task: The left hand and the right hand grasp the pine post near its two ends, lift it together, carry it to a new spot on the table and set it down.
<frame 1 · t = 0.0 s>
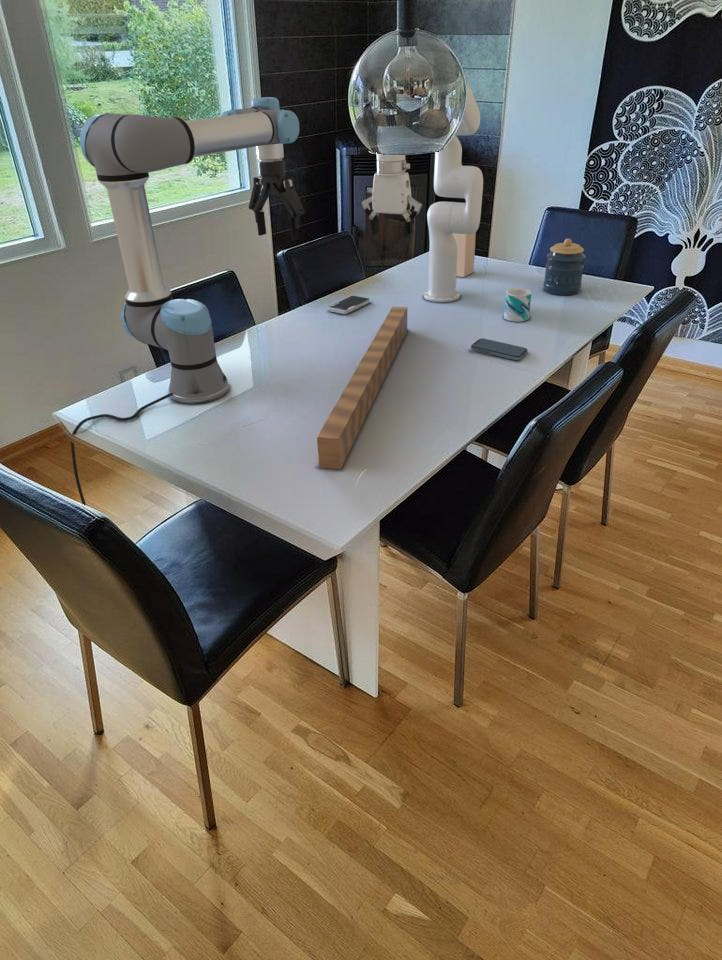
left hand: (278, 237, 202), 28 cm above the table, tool pointing down, fingers open, 13 cm apart
right hand: (391, 234, 186), 31 cm above the table, tool pointing down, fingers open, 9 cm apart
smartphone: (349, 307, 231), on the table
tan upright wooden block: (461, 272, 262), on the table
post: (371, 386, 177), on the table
mug: (518, 315, 218), on the table
smartphone 2: (498, 352, 193), on the table
canister: (561, 290, 239), on the table
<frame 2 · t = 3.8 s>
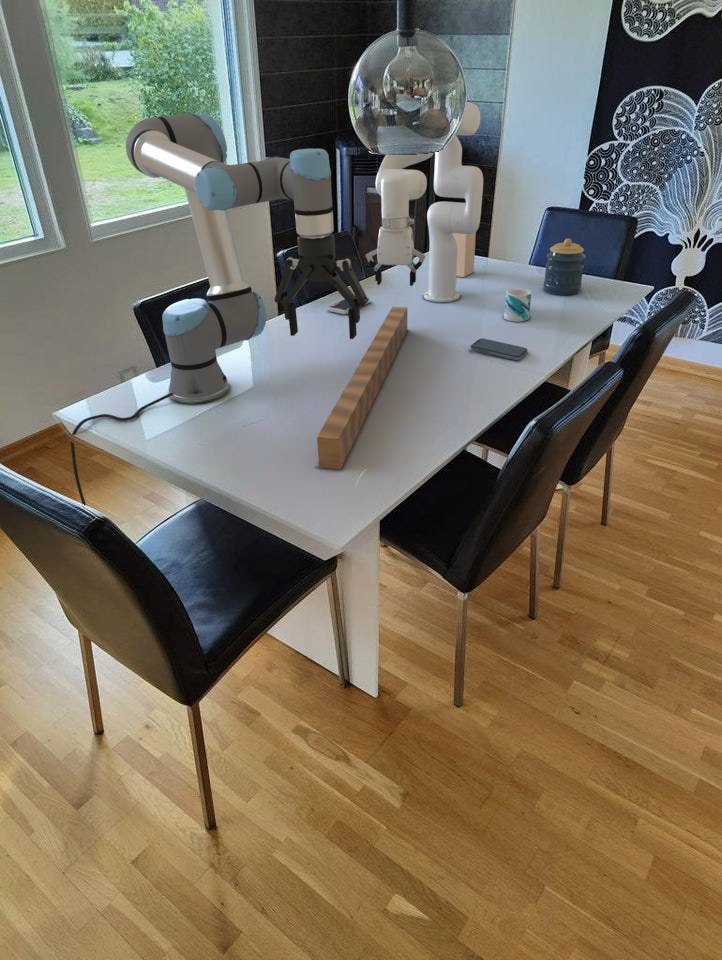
left hand: (323, 335, 147), 23 cm above the table, tool pointing down, fingers open, 13 cm apart
right hand: (395, 284, 196), 17 cm above the table, tool pointing down, fingers open, 9 cm apart
nothing on the table moved.
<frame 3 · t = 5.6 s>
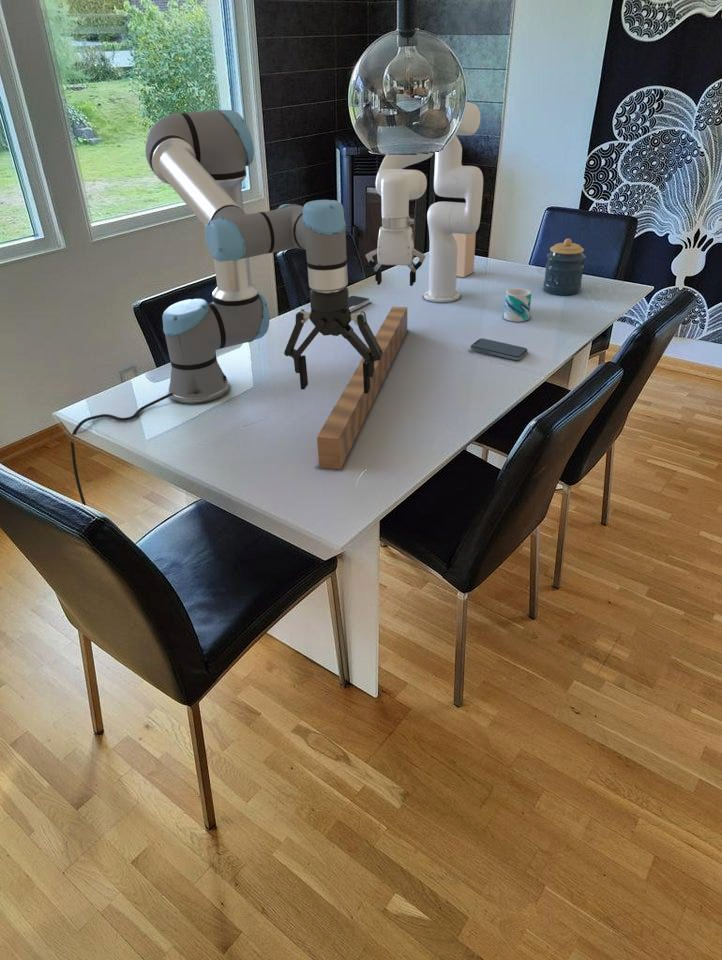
left hand: (335, 388, 140), 15 cm above the table, tool pointing down, fingers open, 13 cm apart
right hand: (395, 284, 196), 17 cm above the table, tool pointing down, fingers open, 9 cm apart
nothing on the table moved.
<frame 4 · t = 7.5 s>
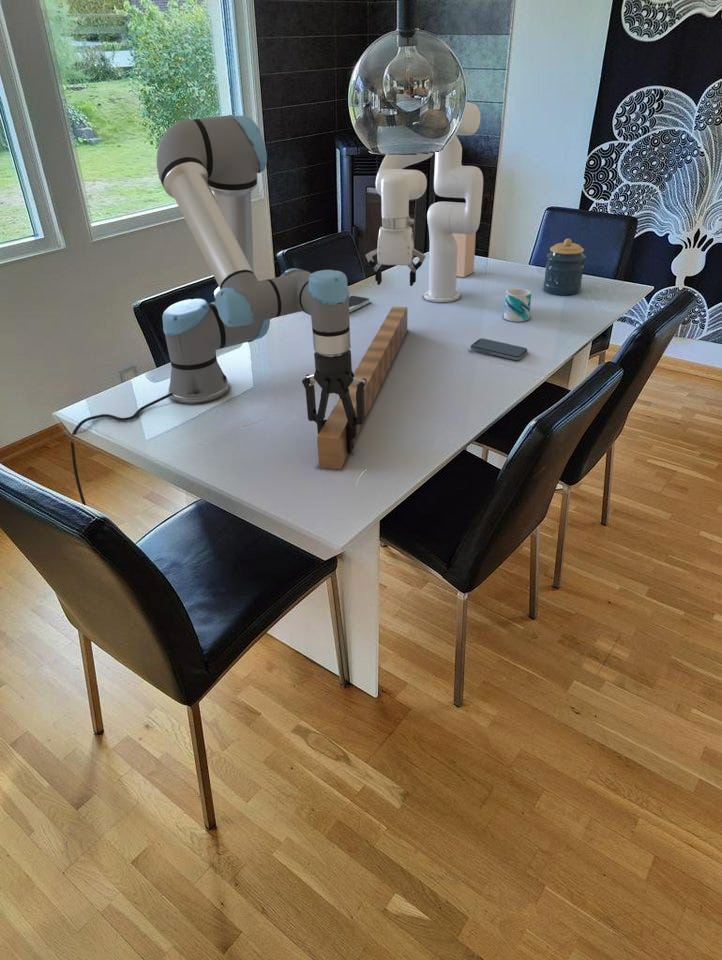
left hand: (338, 449, 149), 1 cm above the table, tool pointing down, fingers closed on post, 5 cm apart
right hand: (395, 284, 196), 17 cm above the table, tool pointing down, fingers open, 9 cm apart
post: (371, 386, 177), on the table, touching left hand
everything else where it was.
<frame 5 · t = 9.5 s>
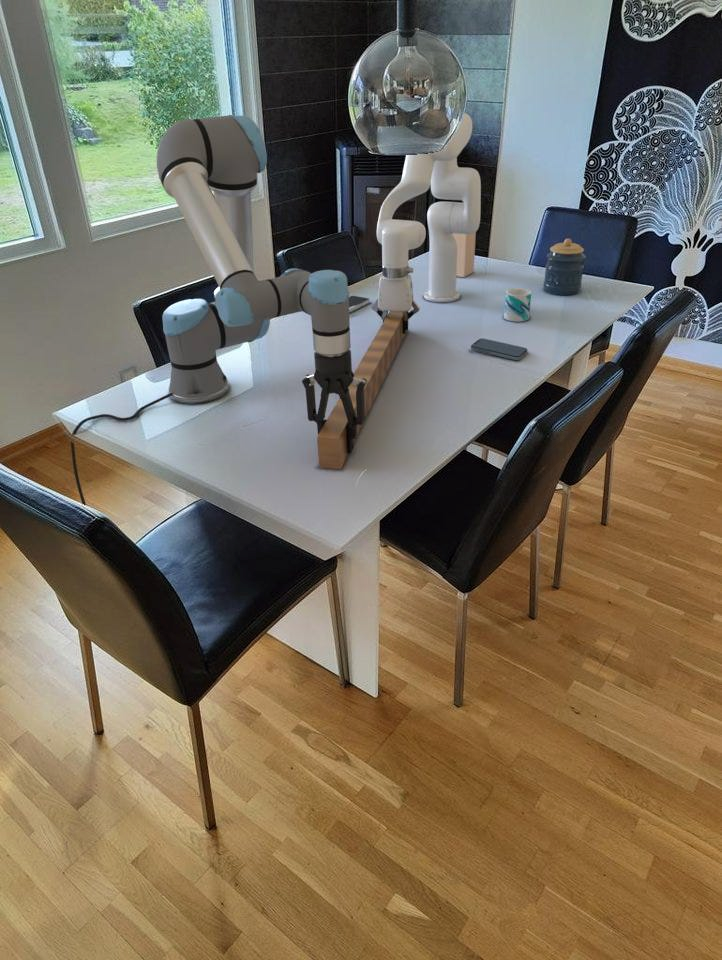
left hand: (338, 449, 149), 1 cm above the table, tool pointing down, fingers closed on post, 5 cm apart
right hand: (395, 331, 204), 2 cm above the table, tool pointing down, fingers closed on post, 4 cm apart
post: (371, 386, 177), on the table, touching left hand, right hand
everything else where it was.
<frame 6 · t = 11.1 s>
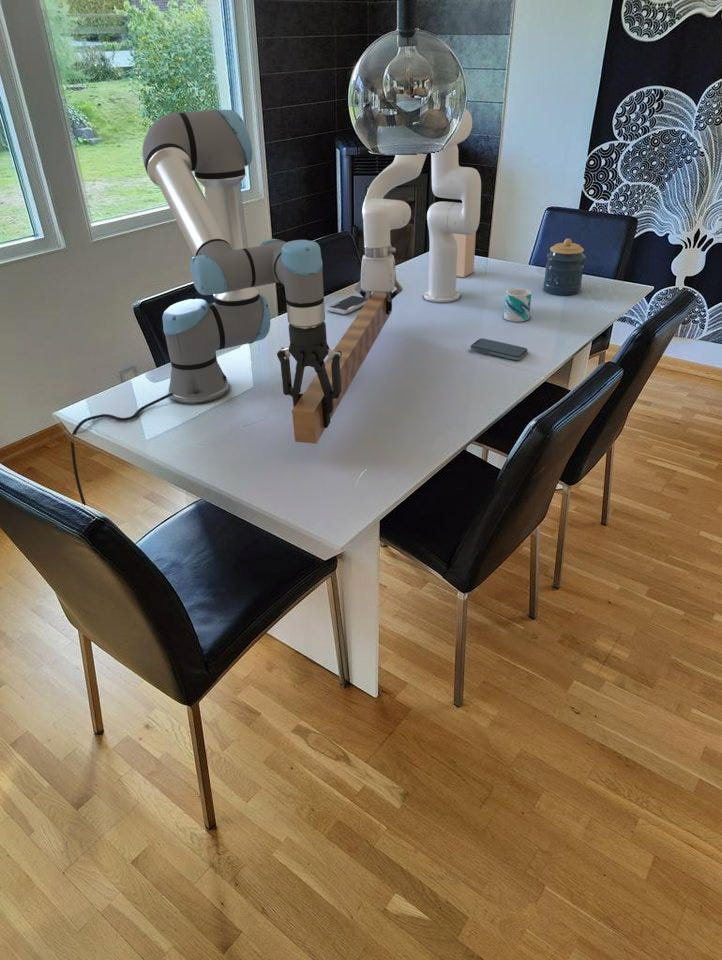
left hand: (314, 423, 148), 6 cm above the table, tool pointing down, fingers closed on post, 5 cm apart
right hand: (379, 312, 203), 8 cm above the table, tool pointing down, fingers closed on post, 4 cm apart
post: (352, 364, 176), point 5 cm above the table, touching left hand, right hand
everything else where it was.
when the left hand's fingers open (2 cm above the table, at t = 12.8 s): post drops 1 cm, on the table.
when the right hand's fingers open (3 cm above the table, at t = 13.0 s): post stays where it is, on the table.
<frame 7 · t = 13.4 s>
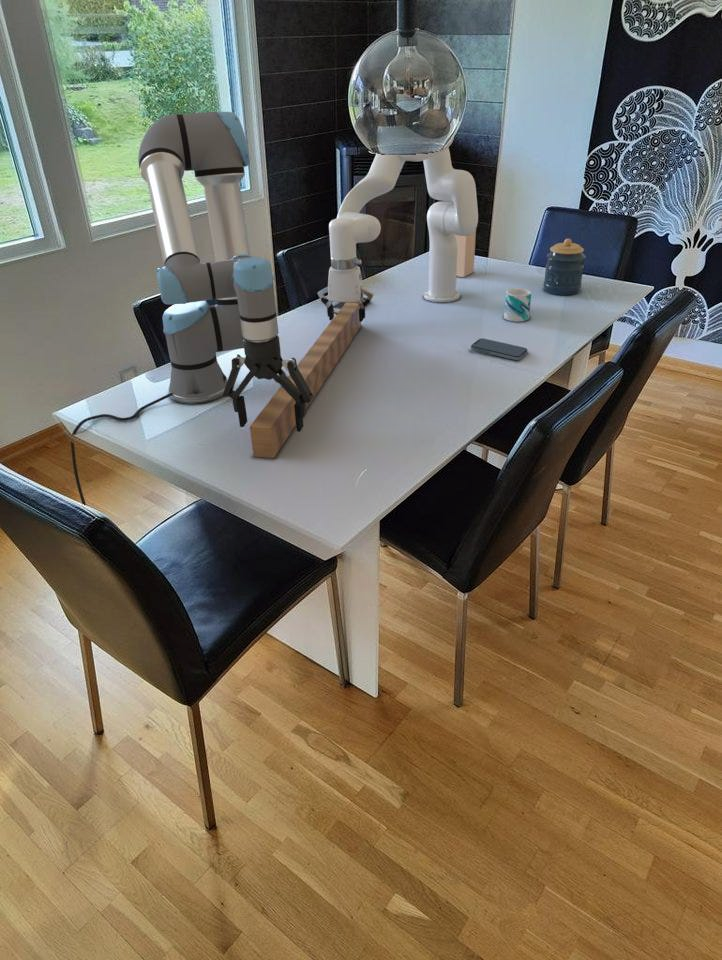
left hand: (271, 426, 151), 4 cm above the table, tool pointing down, fingers open, 13 cm apart
right hand: (346, 319, 207), 5 cm above the table, tool pointing down, fingers open, 9 cm apart
post: (317, 379, 182), on the table
everything else where it was.
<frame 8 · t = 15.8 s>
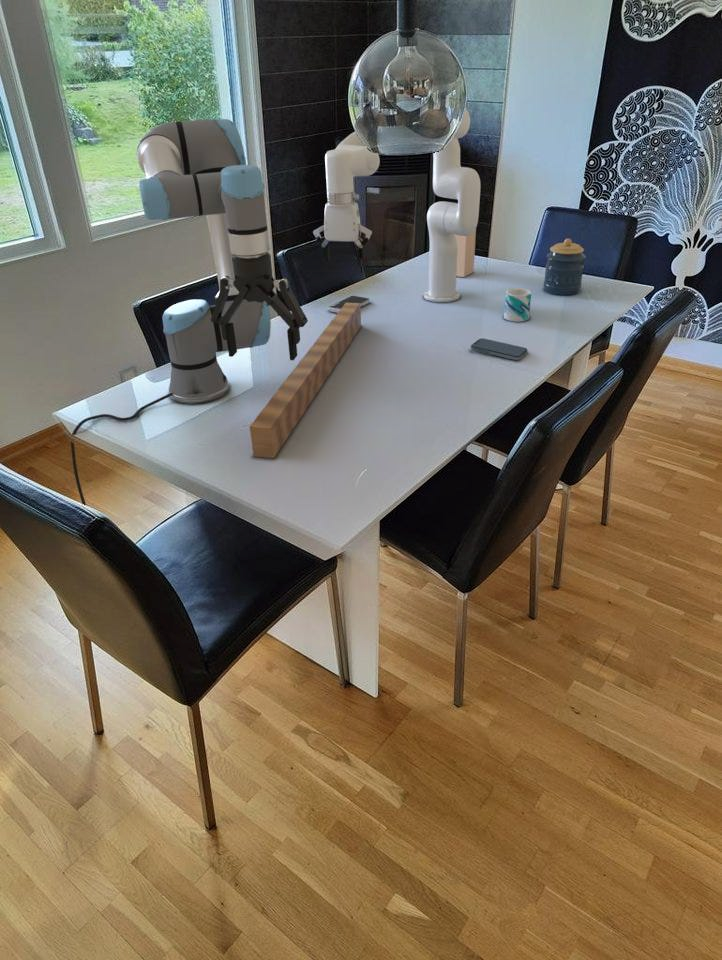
left hand: (263, 356, 142), 21 cm above the table, tool pointing down, fingers open, 13 cm apart
right hand: (343, 260, 197), 23 cm above the table, tool pointing down, fingers open, 9 cm apart
nothing on the table moved.
at the end: post inside the target area (0.6 cm from its centre), on the table; post tilted 0°; post never tilted more than 1° during the clip; both hands held the post at the same time; the left hand is holding nothing; the right hand is holding nothing; post at rest at the end (0.0 cm/s) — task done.
